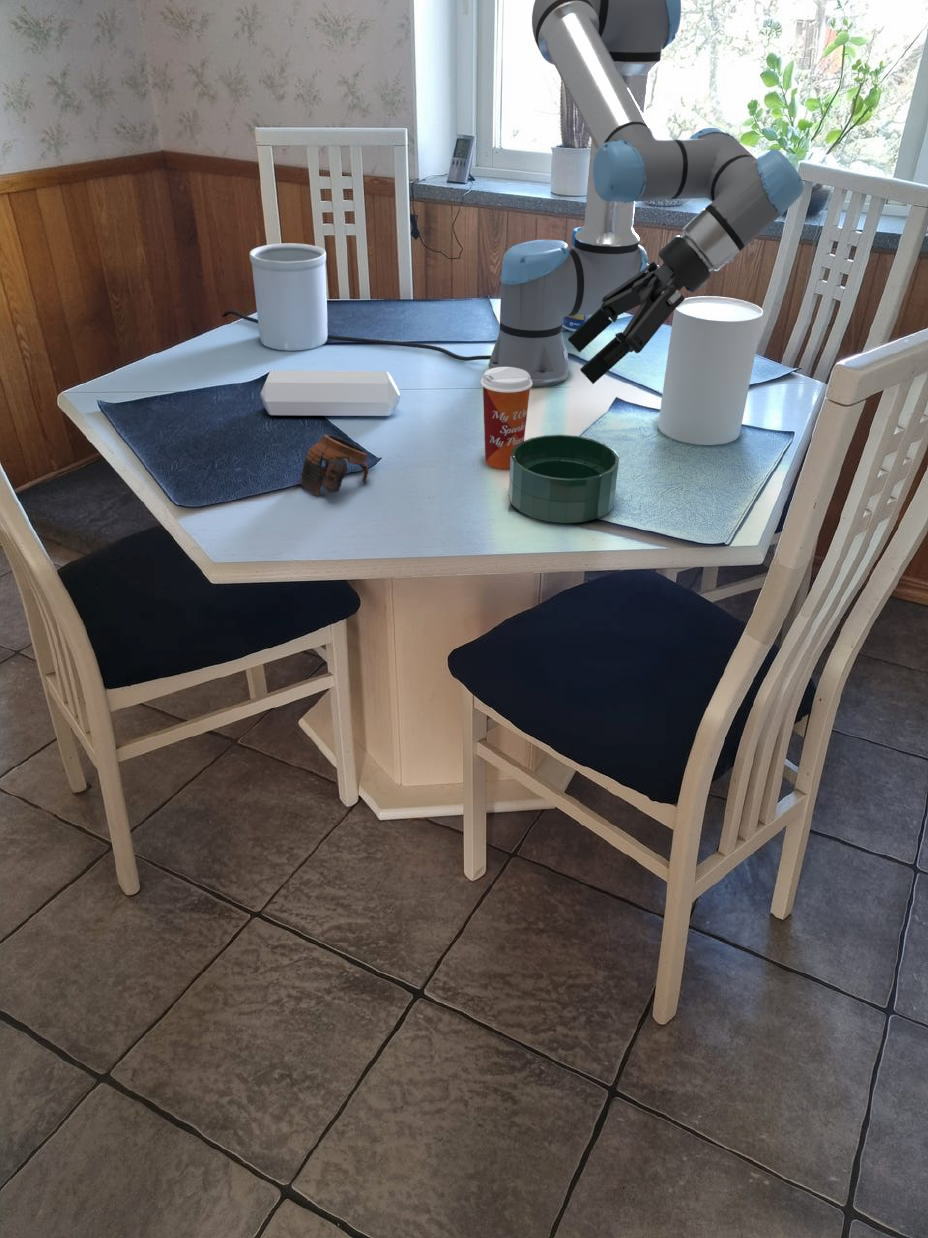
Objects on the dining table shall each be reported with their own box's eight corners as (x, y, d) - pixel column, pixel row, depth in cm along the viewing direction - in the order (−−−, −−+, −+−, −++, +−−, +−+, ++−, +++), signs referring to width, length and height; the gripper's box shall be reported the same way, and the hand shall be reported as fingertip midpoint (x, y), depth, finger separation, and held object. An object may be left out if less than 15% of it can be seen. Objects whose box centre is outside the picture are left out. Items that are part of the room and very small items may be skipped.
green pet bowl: (491, 510, 132) (493, 464, 128) (534, 470, 143) (537, 427, 139) (591, 535, 126) (595, 488, 122) (628, 492, 137) (633, 447, 133)
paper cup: (493, 476, 141) (496, 386, 133) (470, 456, 147) (471, 369, 139) (538, 466, 144) (543, 378, 136) (513, 447, 150) (517, 362, 142)
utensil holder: (346, 337, 195) (341, 249, 185) (298, 357, 184) (291, 264, 174) (292, 325, 201) (284, 239, 191) (243, 343, 191) (232, 253, 181)
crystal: (401, 378, 164) (264, 377, 164) (399, 370, 157) (256, 369, 156) (401, 420, 165) (264, 420, 164) (399, 415, 158) (256, 414, 157)
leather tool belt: (293, 477, 141) (314, 426, 139) (351, 500, 144) (372, 451, 142) (297, 493, 130) (319, 437, 128) (360, 518, 133) (382, 464, 131)
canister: (688, 450, 150) (708, 325, 139) (642, 419, 160) (658, 301, 149) (756, 437, 154) (781, 315, 143) (708, 408, 165) (727, 292, 153)
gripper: (737, 298, 120) (610, 409, 128) (691, 252, 141) (583, 350, 149) (703, 254, 117) (574, 372, 125) (660, 214, 138) (552, 316, 145)
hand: (579, 360), depth 137 cm, fingers open, 13 cm apart
